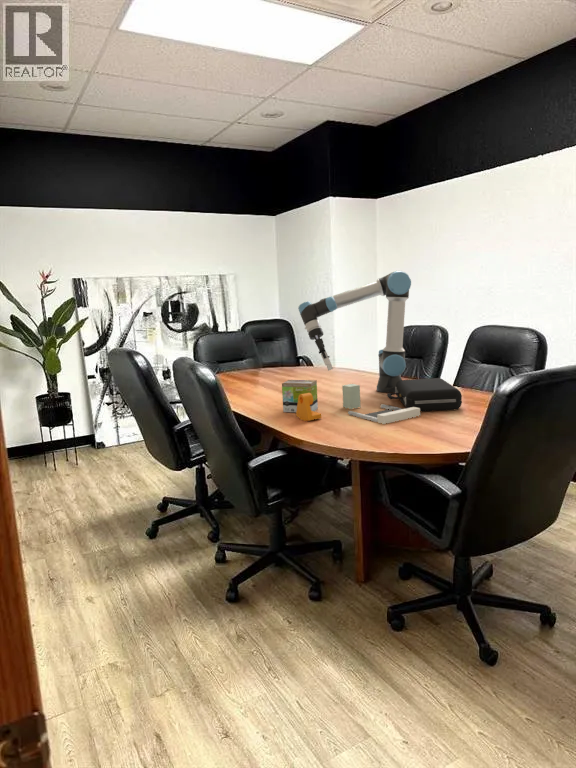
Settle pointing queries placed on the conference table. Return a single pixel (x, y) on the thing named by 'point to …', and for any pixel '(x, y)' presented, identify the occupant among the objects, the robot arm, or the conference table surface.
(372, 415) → the stop pad
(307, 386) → the tea box
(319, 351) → the robot arm
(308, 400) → the bracket
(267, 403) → the conference table surface
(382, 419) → the end stop
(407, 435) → the conference table surface
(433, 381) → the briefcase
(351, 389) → the block
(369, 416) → the track rails
